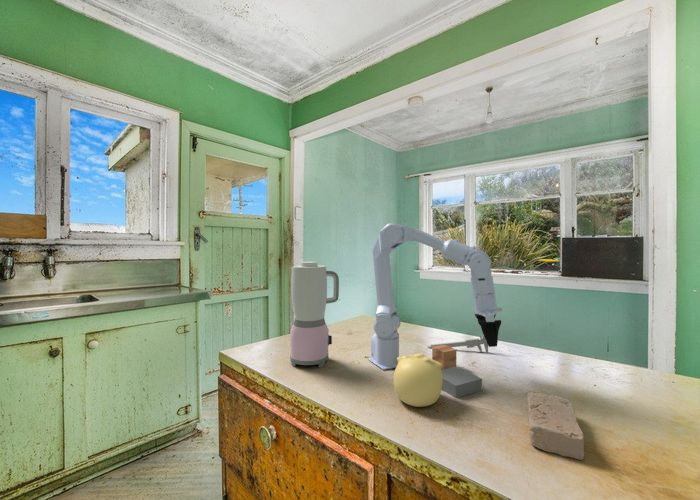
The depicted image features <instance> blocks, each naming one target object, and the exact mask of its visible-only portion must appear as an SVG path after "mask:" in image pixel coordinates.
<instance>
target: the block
mask: <svg viewBox="0 0 700 500" xmlns="http://www.w3.org/2000/svg"><path fill="white" fill-rule="evenodd" d="M431 350H432V351H431V352H432V353H431V355H432V356H431V359H433V360H435V361H437V362H439V363H441V364H442V368H441V370H442V369H446V368H451V367H455V366H457V349H456V348H455V347H449V346H446V345H441V346H436V347H432V349H431Z"/></svg>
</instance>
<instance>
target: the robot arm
mask: <svg viewBox="0 0 700 500" xmlns="http://www.w3.org/2000/svg"><path fill="white" fill-rule="evenodd" d="M405 242H418V243H420V244H423V245H425V246H428V247H431V248H433V249H435V250H438V251H439V252H441V255H442V257H443V258H445V259H448V260H450V261H452V262H454V263H456V264H460V265H462V266H468V268H469V269H470V283H471V292H472V298H473V305H474V306H473V307H474V317H475V318H476V319H477V323H478V325H479V327H480V328H481V332H482V336H483V335H484V338H485V339H486V341H487V344H488V348H490V347H491V348H494V347H495V348H496V347H498V342H499V331H500V327H501V325H502V320H501V319H495V318H496V316H497V313H499V312H502V311H503V309H502V307H498V305H497V299H496V291H495V286H494V285H495V284H494V283H495V282H494V277H493V275H492V269H491V265H492V260H491V258H490V256H489V254H487V253H486V252H485V251H483V250H482V249H481V250H480V249H478V250H477V246H475V245H474V246H470V245H468V244H466V243H463V242H462V241H461V240H460V239H459V238H455V239H453V238H450V239H447V240H443V239H442V238H441V239H440V238H438V237H436V236H435V235H433V234H429V232H425V231H423V230H422V229H418V228H416V227H411V226H407V225H404V224H400V223H399V224H398V223H396V222H389V223H387V224H385V225H384V226H383V227H382V229H380V230H379V232H378V237H377V239H376V241H375V243H374V246H373V247H372V259H373V269H374V270H373V271H374V277H375V278H374V279H375V280H374V281H375V288H376V289H375V290H376V300H377V301H376V302H377V308H376V312H375V322H374V323H373V330H374V333H373V335H371V339H370V357H369V358H368V361H369V362H371V363H372V364H374V365H376V367H377V368H378V367H379V368H380V369H381V370H382V371H386V370H390V369H394V368H395V369H396V367H397V365H398V361H397V358H398V357H400V333H399V332H398V329H399V328H400V326H401V318H400V316H399V315H398V312H397V307H396V305H395V299H394V292H393V291H394V290H393V279H392V269H391V260H390V259H391V258H390V256H391V254H392V252H393V251H395V249H396V248H398V247H399V246H400V245H403V244H404V243H405Z"/></svg>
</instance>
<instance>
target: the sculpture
mask: <svg viewBox="0 0 700 500" xmlns="http://www.w3.org/2000/svg"><path fill="white" fill-rule="evenodd" d="M397 361H398V365H397V367H396V368H395V369H394V373H393V378H392V380H393V381H392V382H393V387H394V392H395V394H396V396H397V397H398V399H399V400H400V401H402V402H403V403H404V404H406V405H409V406H411V407H416V408H419V407H420V408H421V407H422V408H423V407H428V406H431V405H433V404H435V403H436V402H437V401H438V399H439V398H440V396H441V393H442V382H443V377H442V370H441V368H442V364H441V363H439V362H437V361H435V360H433V359H432V358H429V357H428V356H427V355H425V354H423V353H418V352H417V353H414V354H410V355H403V356H399V357H398V358H397Z"/></svg>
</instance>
